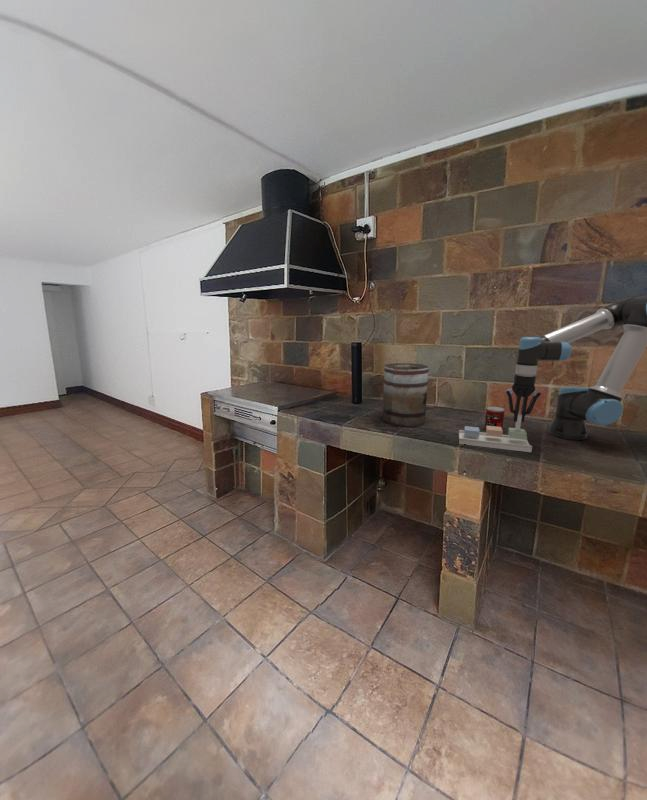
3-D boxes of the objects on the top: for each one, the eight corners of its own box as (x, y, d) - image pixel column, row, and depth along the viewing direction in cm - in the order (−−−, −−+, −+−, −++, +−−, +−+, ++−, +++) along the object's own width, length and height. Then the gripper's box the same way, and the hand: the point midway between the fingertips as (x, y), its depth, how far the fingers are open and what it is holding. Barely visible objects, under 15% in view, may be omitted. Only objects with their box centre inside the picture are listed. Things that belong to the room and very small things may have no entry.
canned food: (480, 428, 170) (483, 407, 167) (493, 426, 172) (495, 405, 170) (493, 433, 163) (495, 411, 160) (505, 431, 165) (508, 409, 163)
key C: (478, 433, 154) (478, 427, 153) (478, 438, 149) (479, 431, 148) (463, 432, 156) (464, 426, 156) (464, 436, 151) (464, 430, 150)
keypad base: (525, 442, 151) (526, 437, 150) (531, 452, 140) (532, 446, 139) (458, 435, 160) (459, 430, 160) (459, 443, 150) (459, 438, 149)
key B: (500, 433, 151) (501, 427, 150) (502, 438, 145) (502, 431, 145) (485, 432, 153) (486, 425, 152) (486, 436, 147) (487, 429, 147)
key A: (523, 435, 148) (524, 429, 147) (525, 440, 142) (526, 433, 141) (507, 434, 150) (508, 427, 149) (509, 438, 144) (510, 431, 144)
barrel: (432, 421, 182) (437, 366, 175) (409, 430, 167) (412, 370, 160) (398, 412, 198) (400, 362, 191) (373, 420, 184) (375, 366, 176)
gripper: (541, 374, 140) (533, 427, 146) (506, 372, 145) (499, 424, 151) (545, 377, 134) (536, 433, 139) (508, 375, 138) (501, 429, 144)
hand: (517, 428), depth 145 cm, fingers closed
